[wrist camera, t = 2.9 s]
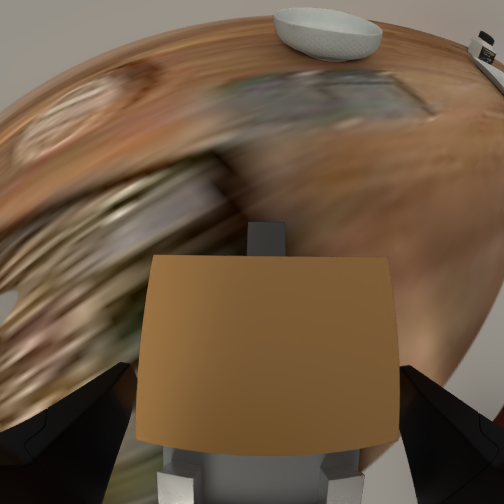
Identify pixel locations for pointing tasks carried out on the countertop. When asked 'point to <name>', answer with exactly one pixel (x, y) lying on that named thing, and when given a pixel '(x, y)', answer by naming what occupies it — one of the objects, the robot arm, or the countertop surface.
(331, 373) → the brown boxy piece
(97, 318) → the countertop surface
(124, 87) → the countertop surface
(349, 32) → the cereal bowl
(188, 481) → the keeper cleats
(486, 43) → the medicine bottle
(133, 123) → the countertop surface
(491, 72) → the salad plate
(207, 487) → the board
